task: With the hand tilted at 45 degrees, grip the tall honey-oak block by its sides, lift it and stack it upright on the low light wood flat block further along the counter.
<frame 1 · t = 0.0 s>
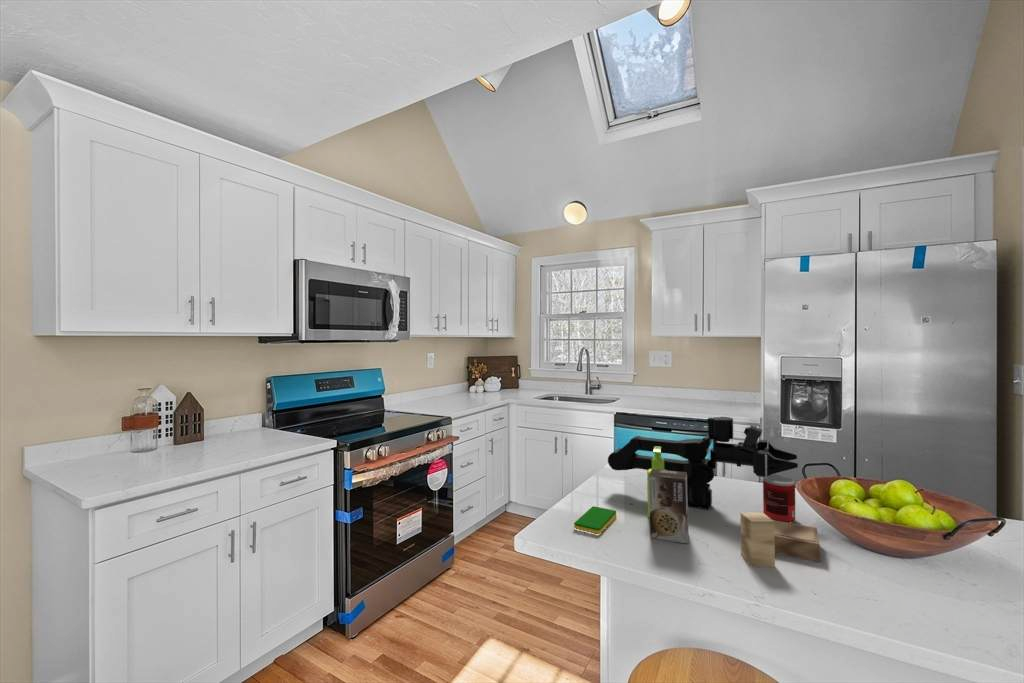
hand: (797, 461, 121), 17 cm above the countertop, tool horizontal, fingers open, 9 cm apart
canned food: (779, 519, 124), on the countertop
dish sponge: (595, 525, 122), on the countertop
printed cardboard box: (669, 536, 114), on the countertop
soap dispenser: (658, 518, 125), on the countertop
oak block: (757, 560, 101), on the countertop
light wood flat block: (793, 547, 107), on the countertop
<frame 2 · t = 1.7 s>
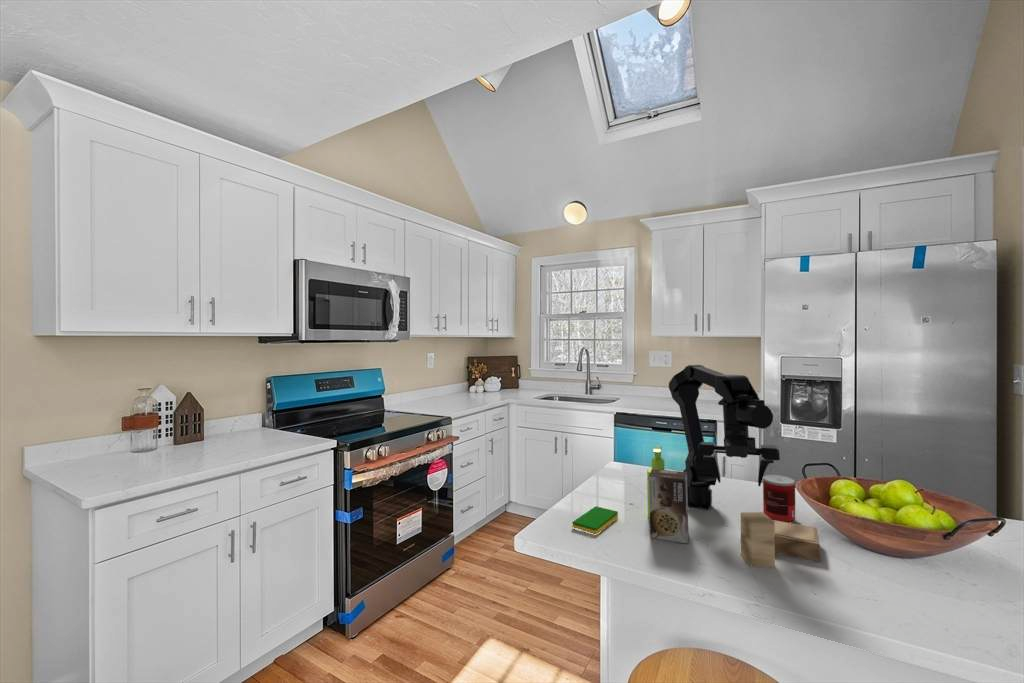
hand: (739, 484, 116), 12 cm above the countertop, tool pointing down, fingers open, 9 cm apart
nothing on the countertop moved.
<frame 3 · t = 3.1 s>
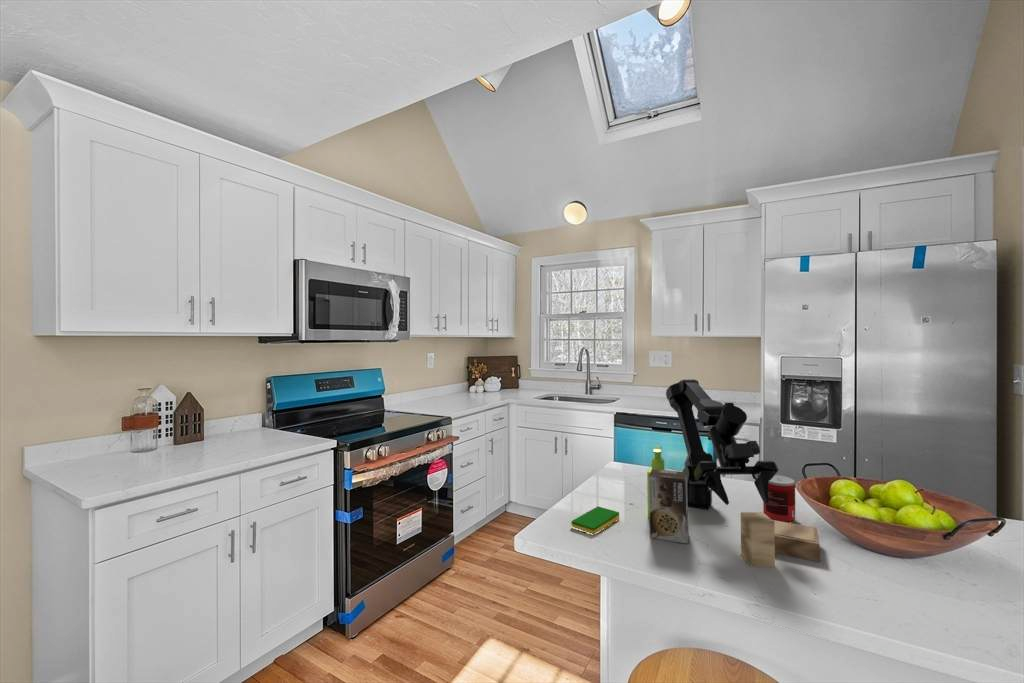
hand: (747, 503, 105), 11 cm above the countertop, tool tilted 45°, fingers open, 9 cm apart
nothing on the countertop moved.
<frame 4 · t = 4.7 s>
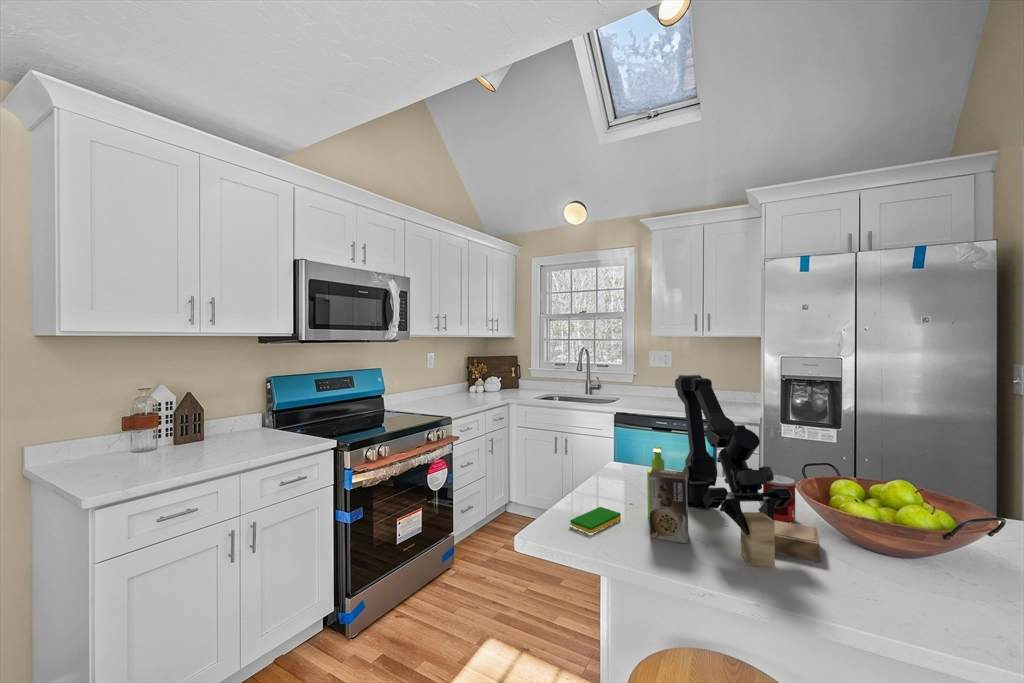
hand: (760, 534, 100), 7 cm above the countertop, tool tilted 45°, fingers closed on oak block, 5 cm apart
oak block: (757, 560, 101), on the countertop, touching gripper
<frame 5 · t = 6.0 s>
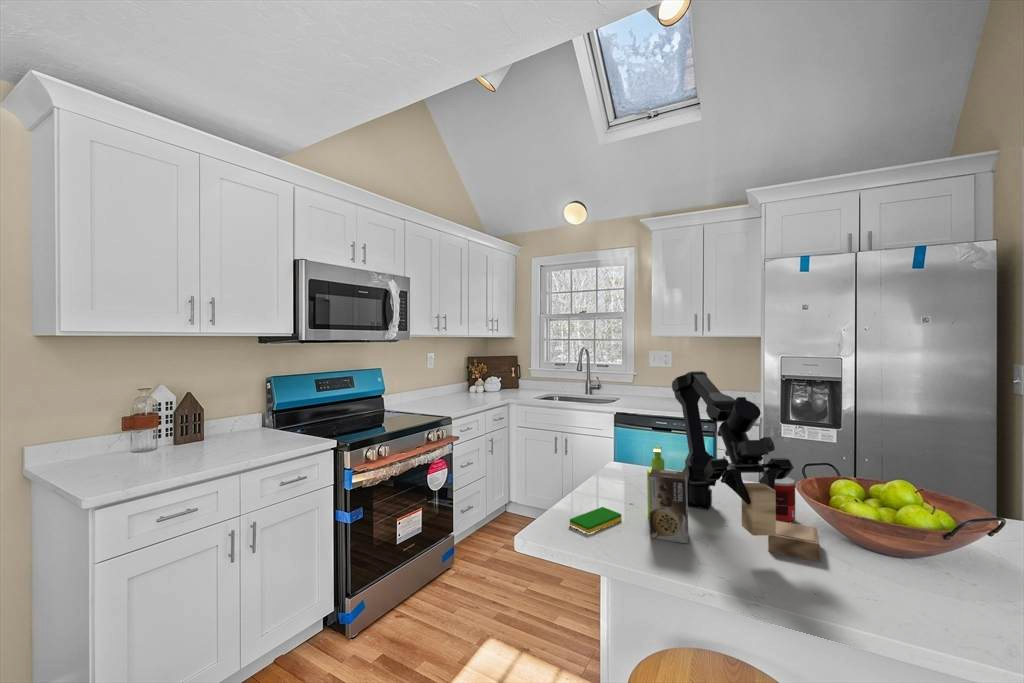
hand: (761, 503, 100), 13 cm above the countertop, tool tilted 45°, fingers closed on oak block, 5 cm apart
oak block: (758, 530, 101), point 7 cm above the countertop, touching gripper
when the fingers open (11 cm above the countertop, at t = 7.6 s): oak block stays where it is, resting on light wood flat block.
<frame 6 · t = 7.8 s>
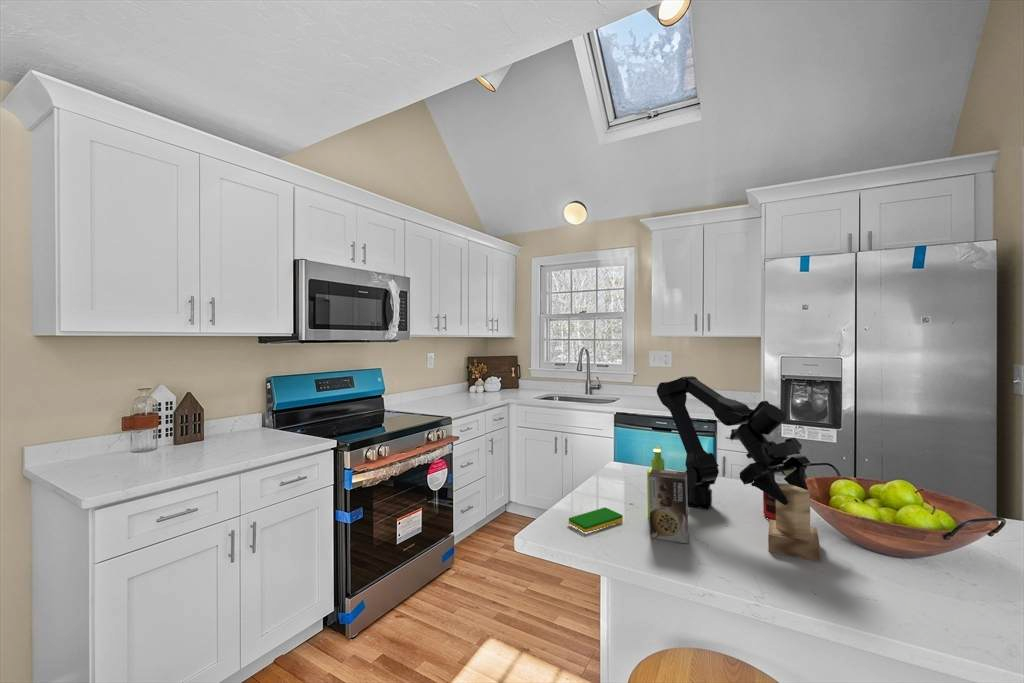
hand: (798, 501, 105), 12 cm above the countertop, tool tilted 45°, fingers open, 7 cm apart
oak block: (792, 530, 107), point 4 cm above the countertop, touching light wood flat block
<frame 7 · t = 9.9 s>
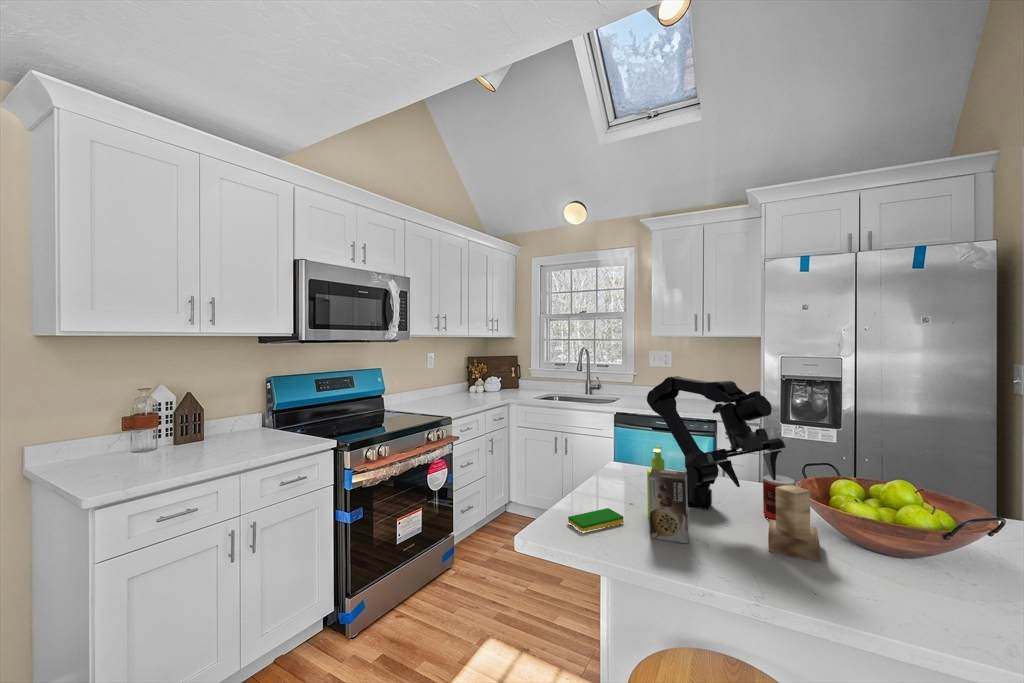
hand: (756, 483, 117), 12 cm above the countertop, tool tilted 25°, fingers open, 9 cm apart
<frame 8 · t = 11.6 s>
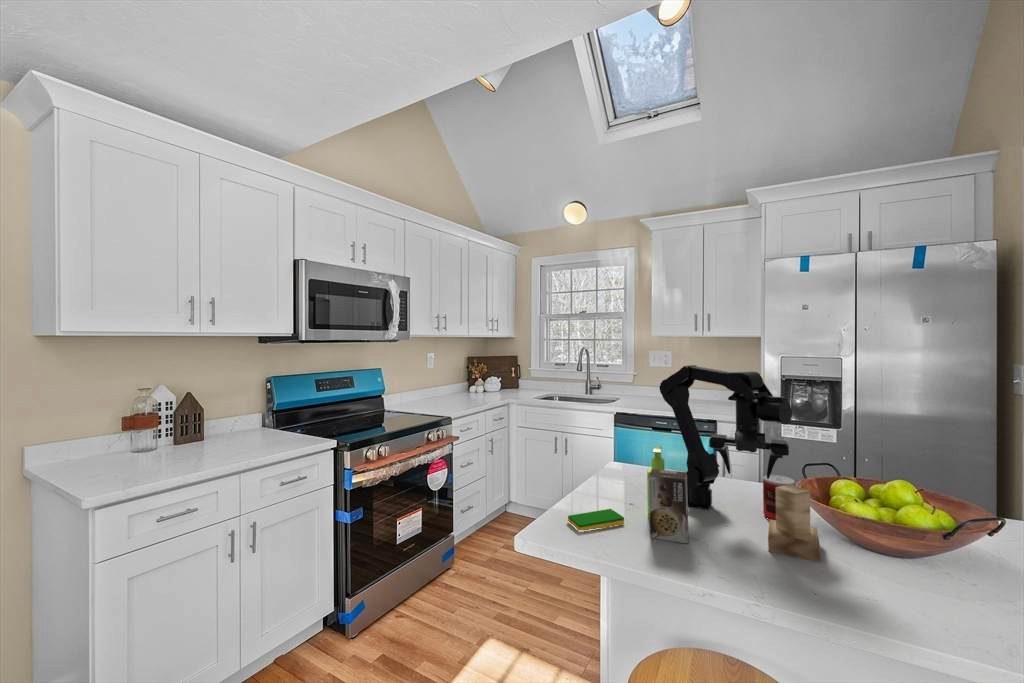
hand: (748, 475, 120), 13 cm above the countertop, tool pointing down, fingers open, 9 cm apart
at the end: oak block inside the target area on the light wood flat block (0.0 cm from its centre), point 4.1 cm above the light wood flat block's base; oak block tilted 0°; the gripper is holding nothing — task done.
